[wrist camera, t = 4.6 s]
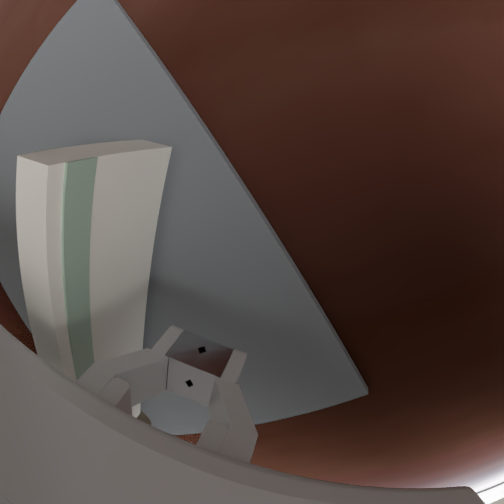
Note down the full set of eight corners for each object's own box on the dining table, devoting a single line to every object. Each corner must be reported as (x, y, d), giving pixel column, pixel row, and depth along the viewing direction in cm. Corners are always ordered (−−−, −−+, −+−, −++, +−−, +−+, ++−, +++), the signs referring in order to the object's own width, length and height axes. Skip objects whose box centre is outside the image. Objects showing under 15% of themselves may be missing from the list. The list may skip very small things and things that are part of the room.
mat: (368, 387, 15) (368, 394, 14) (123, 434, 24) (121, 437, 23) (102, -19, 10) (97, -21, 9) (-30, 203, 19) (-34, 204, 18)
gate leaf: (141, 413, 19) (99, 474, 13) (121, 402, 19) (78, 460, 14) (174, 147, 12) (50, 166, 6) (139, 138, 12) (15, 155, 6)
